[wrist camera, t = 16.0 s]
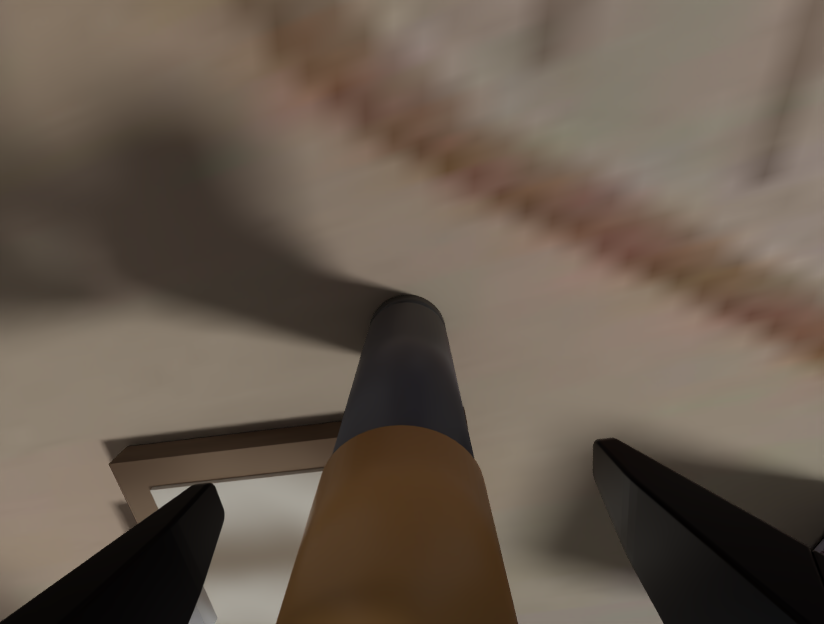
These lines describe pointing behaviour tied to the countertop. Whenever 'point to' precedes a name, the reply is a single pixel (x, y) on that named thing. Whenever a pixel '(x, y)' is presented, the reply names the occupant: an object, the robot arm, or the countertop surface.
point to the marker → (401, 495)
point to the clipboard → (238, 508)
